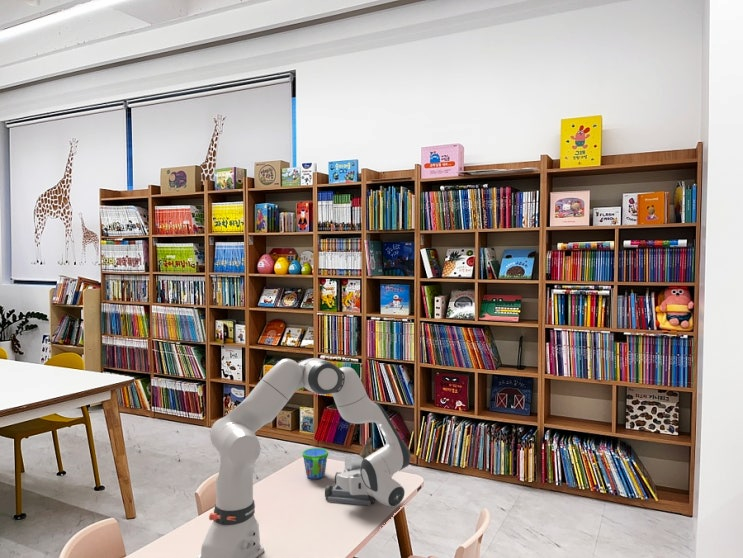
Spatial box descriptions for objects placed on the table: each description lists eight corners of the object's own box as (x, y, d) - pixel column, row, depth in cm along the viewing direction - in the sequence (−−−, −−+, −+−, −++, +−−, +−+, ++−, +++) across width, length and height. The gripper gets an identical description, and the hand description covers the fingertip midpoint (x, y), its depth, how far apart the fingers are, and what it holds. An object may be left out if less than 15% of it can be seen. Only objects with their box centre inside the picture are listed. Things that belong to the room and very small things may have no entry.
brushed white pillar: (362, 486, 208) (362, 457, 208) (351, 489, 206) (351, 460, 205) (356, 482, 212) (356, 453, 212) (344, 484, 210) (344, 456, 210)
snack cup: (304, 469, 235) (304, 445, 235) (329, 469, 235) (329, 445, 235) (300, 483, 219) (300, 458, 219) (326, 483, 219) (326, 458, 219)
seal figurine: (375, 481, 228) (383, 441, 225) (367, 485, 224) (374, 444, 221) (354, 469, 235) (361, 429, 232) (345, 472, 231) (352, 432, 228)
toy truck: (373, 505, 199) (373, 493, 199) (323, 501, 203) (323, 489, 203) (384, 484, 219) (384, 473, 219) (338, 480, 223) (338, 469, 223)
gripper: (395, 466, 203) (375, 455, 215) (347, 478, 192) (329, 466, 204) (395, 483, 204) (375, 471, 215) (347, 496, 193) (329, 483, 204)
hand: (352, 469), depth 210 cm, fingers closed on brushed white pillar, 5 cm apart
